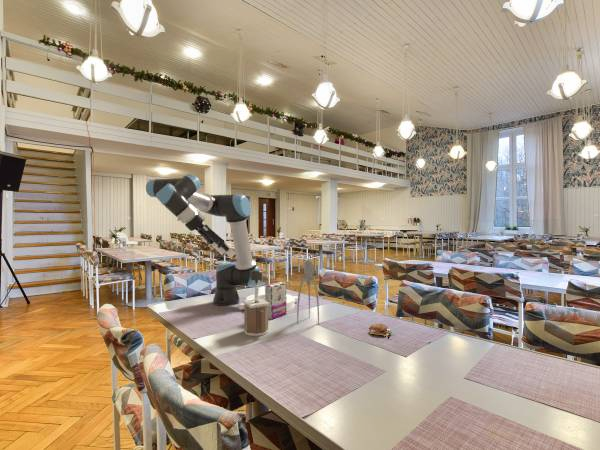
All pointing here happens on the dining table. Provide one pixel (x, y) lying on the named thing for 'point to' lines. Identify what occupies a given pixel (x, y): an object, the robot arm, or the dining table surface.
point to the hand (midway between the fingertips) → (228, 254)
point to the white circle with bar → (289, 299)
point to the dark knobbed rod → (256, 281)
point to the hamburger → (380, 329)
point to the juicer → (308, 284)
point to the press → (256, 317)
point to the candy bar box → (276, 299)
